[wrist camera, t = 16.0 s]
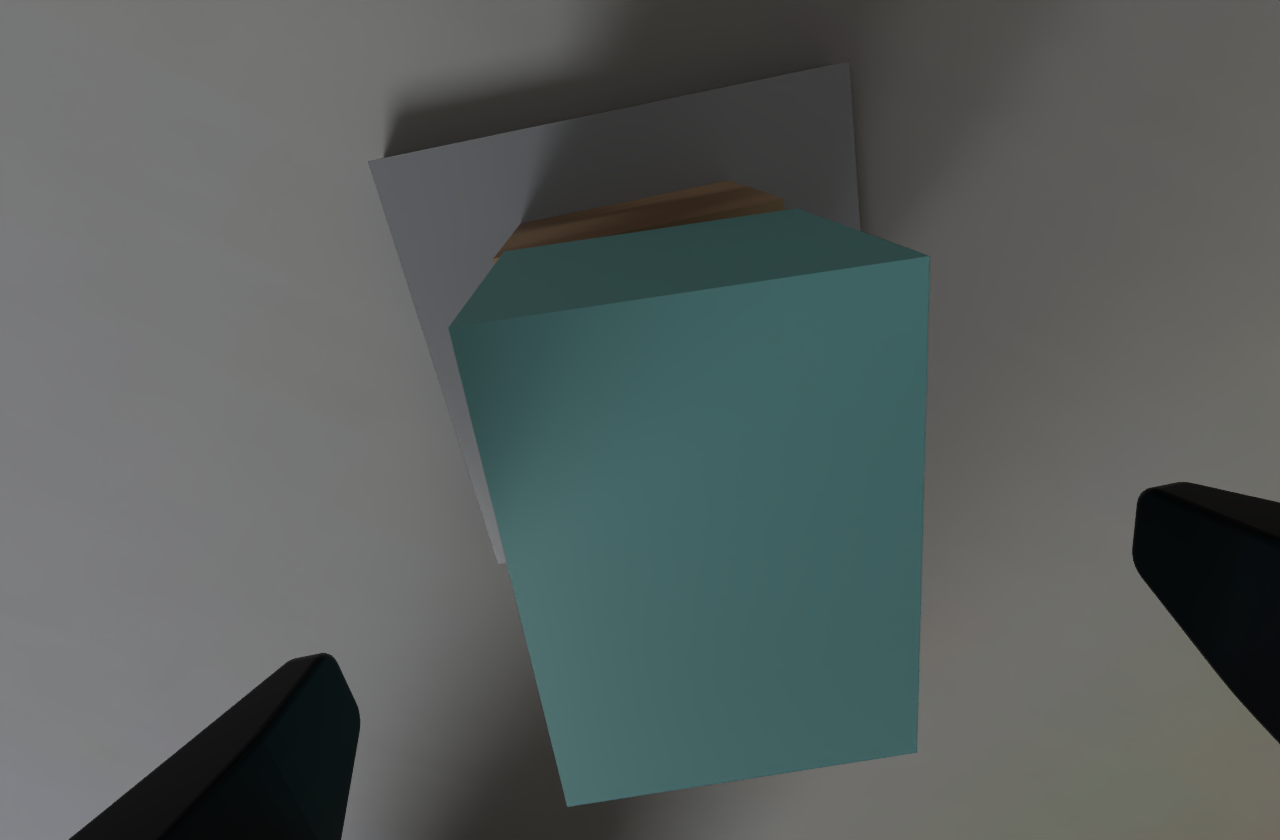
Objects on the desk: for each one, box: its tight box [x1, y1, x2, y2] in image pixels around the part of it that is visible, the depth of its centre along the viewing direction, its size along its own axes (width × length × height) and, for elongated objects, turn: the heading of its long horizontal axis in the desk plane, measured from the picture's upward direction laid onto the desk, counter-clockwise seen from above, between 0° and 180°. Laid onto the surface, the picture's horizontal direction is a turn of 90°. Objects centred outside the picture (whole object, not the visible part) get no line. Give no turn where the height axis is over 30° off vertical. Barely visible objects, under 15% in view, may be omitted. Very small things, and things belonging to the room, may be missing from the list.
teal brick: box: [448, 208, 930, 807], centre depth 11 cm, size 5×7×5 cm
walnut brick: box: [493, 180, 785, 264], centre depth 15 cm, size 5×7×5 cm
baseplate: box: [368, 61, 861, 565], centre depth 18 cm, size 11×11×1 cm
